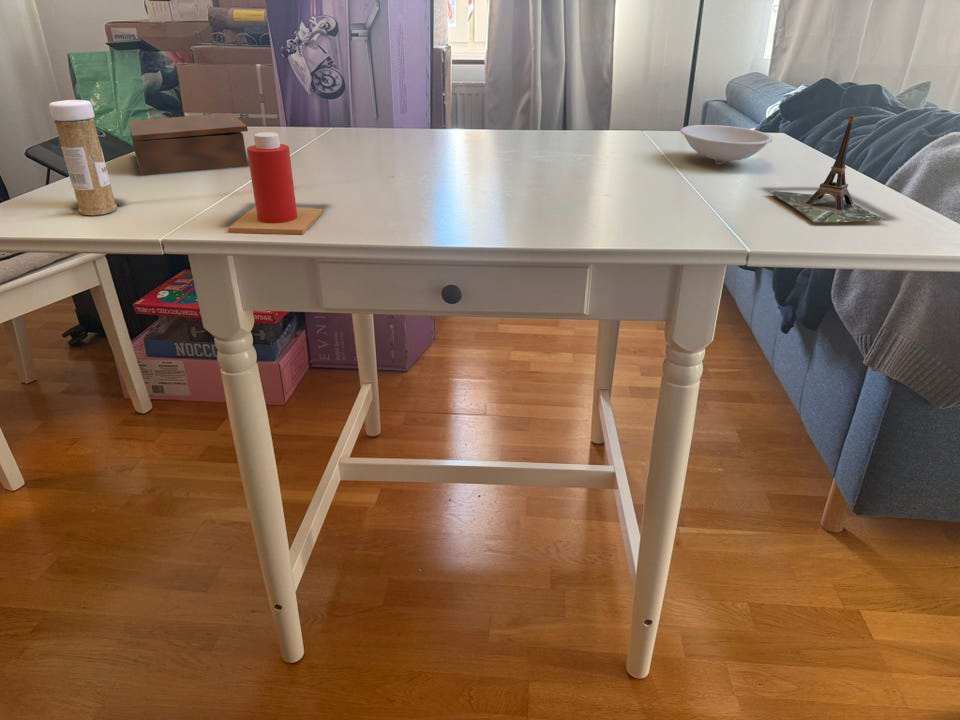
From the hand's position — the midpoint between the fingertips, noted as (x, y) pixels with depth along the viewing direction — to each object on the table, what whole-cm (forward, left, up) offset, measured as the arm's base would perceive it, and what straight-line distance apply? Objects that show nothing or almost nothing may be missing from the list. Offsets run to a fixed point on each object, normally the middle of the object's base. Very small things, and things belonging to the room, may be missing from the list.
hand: (159, 0), depth 99 cm
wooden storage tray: (0, 0, -24) cm, 24 cm away
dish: (+83, -34, -24) cm, 93 cm away
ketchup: (+6, -37, -24) cm, 44 cm away
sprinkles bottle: (-14, -22, -24) cm, 36 cm away
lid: (0, 0, -18) cm, 18 cm away
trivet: (+6, -37, -24) cm, 44 cm away
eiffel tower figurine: (+75, -62, -24) cm, 100 cm away
